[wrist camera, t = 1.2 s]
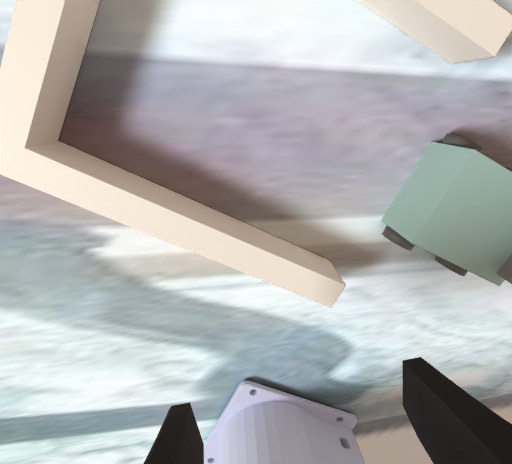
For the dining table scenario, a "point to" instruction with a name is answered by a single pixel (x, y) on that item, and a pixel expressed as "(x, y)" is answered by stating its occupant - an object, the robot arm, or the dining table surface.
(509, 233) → the cart
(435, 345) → the dining table surface
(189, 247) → the bay
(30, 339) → the dining table surface
